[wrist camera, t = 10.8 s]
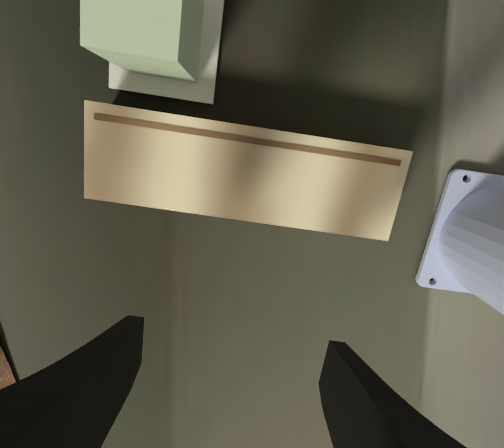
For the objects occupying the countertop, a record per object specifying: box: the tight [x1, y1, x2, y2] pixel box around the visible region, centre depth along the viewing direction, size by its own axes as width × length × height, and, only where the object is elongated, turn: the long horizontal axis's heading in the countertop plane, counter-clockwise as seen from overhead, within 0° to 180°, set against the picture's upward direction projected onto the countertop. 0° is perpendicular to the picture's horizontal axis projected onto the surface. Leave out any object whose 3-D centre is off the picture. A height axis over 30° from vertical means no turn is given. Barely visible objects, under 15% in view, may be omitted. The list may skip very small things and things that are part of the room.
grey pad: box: [109, 0, 224, 104], centre depth 17 cm, size 6×6×1 cm
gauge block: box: [80, 0, 205, 83], centre depth 15 cm, size 4×4×5 cm
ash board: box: [84, 100, 413, 241], centre depth 18 cm, size 17×5×3 cm, turn 82°
